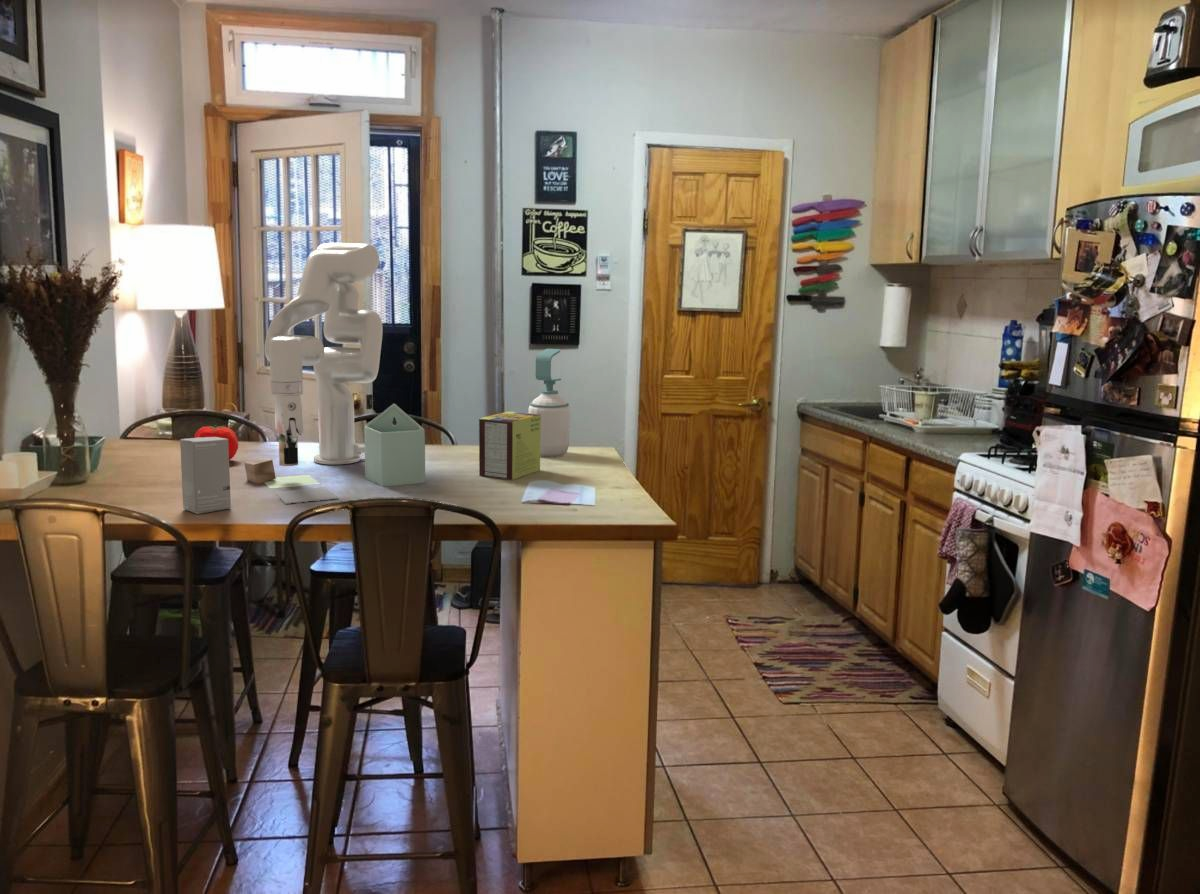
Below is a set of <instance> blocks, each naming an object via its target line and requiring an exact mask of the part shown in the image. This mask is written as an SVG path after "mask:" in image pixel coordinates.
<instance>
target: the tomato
mask: <svg viewBox="0 0 1200 894" xmlns="http://www.w3.org/2000/svg"><path fill="white" fill-rule="evenodd" d="M200 437H202V438H204V437H219V438H225V439H228V448H229V461H230V460H231V459H233V458H234V457H235V456H236V455H237V454H236V453H237V452H238V449H239V441H238V436H237V434H236V432H234V430H232V429H231V428H230V427H227V426H226V425H221V426H218V425H217V424H215V425H214V426H212V425H209V426H201V428H199V429H198V430H197V431H196V432H195V434H194V437H193V438H200Z"/></svg>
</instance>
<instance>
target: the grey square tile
mask: <svg viewBox="0 0 1200 894" xmlns="http://www.w3.org/2000/svg"><path fill="white" fill-rule="evenodd" d="M274 494H275V495H276V496H277V497H278V498H280V499H281V500H282V501H283V502H284V503H285V504H286V505H292V504H291V503H296V504H303V503H302V502H306V503H309V502H308V501H316V502H321V501H320V500H327V501H330V500H329V499H337V500H339V497H338V496H337V495H335V494H334V493H333V492H332V491H330V490H329V489H328V488H326V486H325V487H323V486H322V487H314V488H302V489H293V490H292V489H291V490H290V489H289V490H278V491H274ZM280 499H279V500H280ZM281 500H280V501H281ZM282 501H281V502H282ZM283 502H282V503H283ZM284 503H283V504H284ZM285 504H284V505H285Z"/></svg>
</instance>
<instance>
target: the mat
mask: <svg viewBox="0 0 1200 894" xmlns="http://www.w3.org/2000/svg"><path fill="white" fill-rule="evenodd" d="M275 477H276V476H275ZM263 483H264V484H265V485H266V486H267V487H268V488H269V489H282V488H292V487H293V488H295V487H302V486H304V487H305V486H306V487H307V486H314V485H315V486H317V485H321V483H320V482H319V481H317V480H316V479H315V478H314V477H312V476H311V475H309V474H300V475H288V476H278V477H276V479H274V480H271V481H267V482H263Z"/></svg>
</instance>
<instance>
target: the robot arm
mask: <svg viewBox="0 0 1200 894" xmlns="http://www.w3.org/2000/svg"><path fill="white" fill-rule="evenodd" d="M379 265H380V255H379V252H378V250H377V248H376V247H375V246H374V245H372V244H370V243H357V242H356V243H355V242H327V243H326V242H325V243H323V244H322V243H321V244H320V245H319V246H317V247H316V249H315V250H314V251H312V252H311V253H309V255H308V256H307V258H306V262H305V265H304V268H303V272H302V275H301V276H302V277H301V280H300V283H299V285H298V286H299V287H298V290H297V293H296V296H295V298H293V299H292V300H290V301H289V302H288V303H286V304H285V306H283V307H282V308H281V309H280V310H279V311H278V312H277V313H276V314H275V316H274V317H273V318H272V320H271V322H270V324H269V326H268V329H267V333H266V337H265V342H264V354H265V358H266V360H267V361H268V362H269V374H270V375H269V376H270V377H269V378H270V379H269V380H270V381H269V383H270V384H269V385H270V395H271V396H274V424H275V431H276V432H277V433H279V435H278V436H282V435H284V438H285V448H284V463H285V464H297V463H298V464H299V446H298V445H297V441H298V440H297V436H298V435H299V436H302V435H303V434H304V420H303V419H304V418H303V417H304V416H303V406H302V398H301V396H302V395H303V394H304V385H303V384H304V383H303V382H304V381H303V380H304V379H303V375H304V374H303V366H304V367H312V366H313V372H314V376H315V381H316V389H317V416H318V417H317V418H318V420H317V421H318V442H319V443H318V445H319V446H318V447H319V451H318V453H319V454H317V455H315V456H313V462H315V463H316V464H321V465H333V466H334V465H347V464H354V463H358V462H360V461H361V460H362V459H361V458H362V457H361V456H362V455H361V454H362V453H364V454H365V445H359V444H357V443H356V441H355V439H356V438H355V402H354V395H353V393H352V391H351V390H350V388H349V386H348V385H347V384H346V383H349V384H350V383H355V384H370V383H373V382H375V380H376V379H377V376H378V373H379V369H380V362H381V361H380V360H381V350H382V342H383V321H382V318H381V316H380V314H379V313H378V312H376V311H374V310H372V309H371V310H370V309H359V300H360V295H359V294H360V293H359V291H358V289H357V287H356V285H355V284H357V283H360V282H361V281H364V280H366V279H367V278H370V277H372V276H373V275H375V273H376V272H377V271H378V268H379ZM323 314H324V321H323V336H324V338H325V339H326V341H327V342H330V343H333V344H344V345H360V347H348V346H347V347H346V346H327V347H325V346H324V344H323V341H321V339H320V338H318V337H316V336H312V335H299V334H288V333H289V332H290V331H291V330H292V329H293V328H294V327H295V326H297V325H298V324H301V323H303V322H305V321H308V320H311V319H313V318H315V317H318V316H320V315H323ZM288 438H289V439H288Z"/></svg>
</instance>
